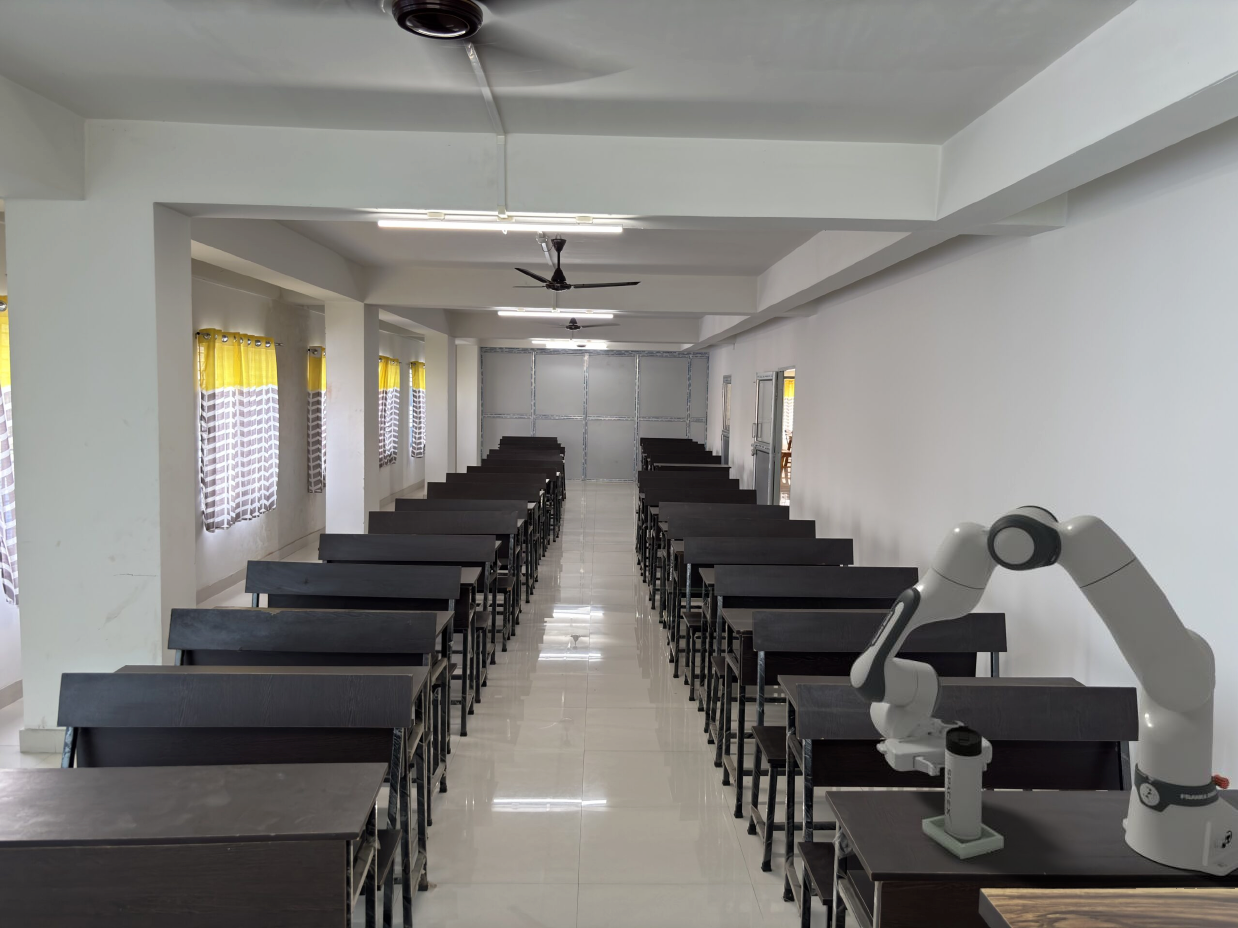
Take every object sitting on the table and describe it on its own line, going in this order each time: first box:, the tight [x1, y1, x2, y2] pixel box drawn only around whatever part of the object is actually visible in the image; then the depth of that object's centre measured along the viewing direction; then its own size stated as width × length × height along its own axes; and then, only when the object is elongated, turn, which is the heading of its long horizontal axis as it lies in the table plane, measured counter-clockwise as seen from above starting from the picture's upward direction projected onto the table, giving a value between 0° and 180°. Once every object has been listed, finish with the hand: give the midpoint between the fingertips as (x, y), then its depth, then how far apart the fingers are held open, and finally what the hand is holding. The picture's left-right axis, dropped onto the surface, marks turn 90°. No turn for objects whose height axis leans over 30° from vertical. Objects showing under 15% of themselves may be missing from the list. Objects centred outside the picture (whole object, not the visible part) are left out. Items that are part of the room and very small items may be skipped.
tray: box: [921, 814, 1005, 860], centre depth 157 cm, size 9×10×2 cm
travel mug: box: [944, 725, 983, 844], centre depth 156 cm, size 6×7×20 cm
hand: (959, 769), depth 156 cm, fingers open, 8 cm apart
